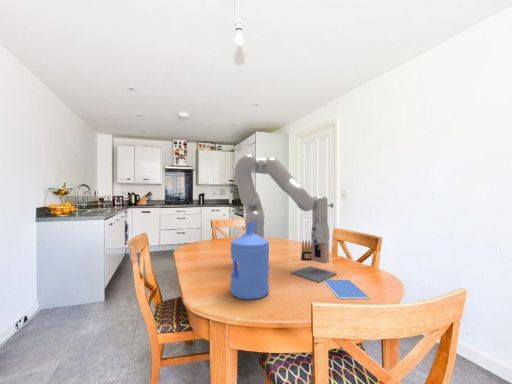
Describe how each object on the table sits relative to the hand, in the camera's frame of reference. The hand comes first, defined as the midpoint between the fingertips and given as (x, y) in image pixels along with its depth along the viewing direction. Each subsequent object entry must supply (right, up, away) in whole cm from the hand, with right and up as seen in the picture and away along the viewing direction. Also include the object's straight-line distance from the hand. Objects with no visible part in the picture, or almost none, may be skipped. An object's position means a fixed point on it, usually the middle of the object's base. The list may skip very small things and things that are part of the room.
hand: (319, 255), depth 127 cm
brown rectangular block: (0, -3, 0) cm, 3 cm away
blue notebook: (+5, -9, -22) cm, 24 cm away
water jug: (-35, -8, -25) cm, 44 cm away
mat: (-4, -8, -3) cm, 10 cm away
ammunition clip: (0, -8, +22) cm, 24 cm away
